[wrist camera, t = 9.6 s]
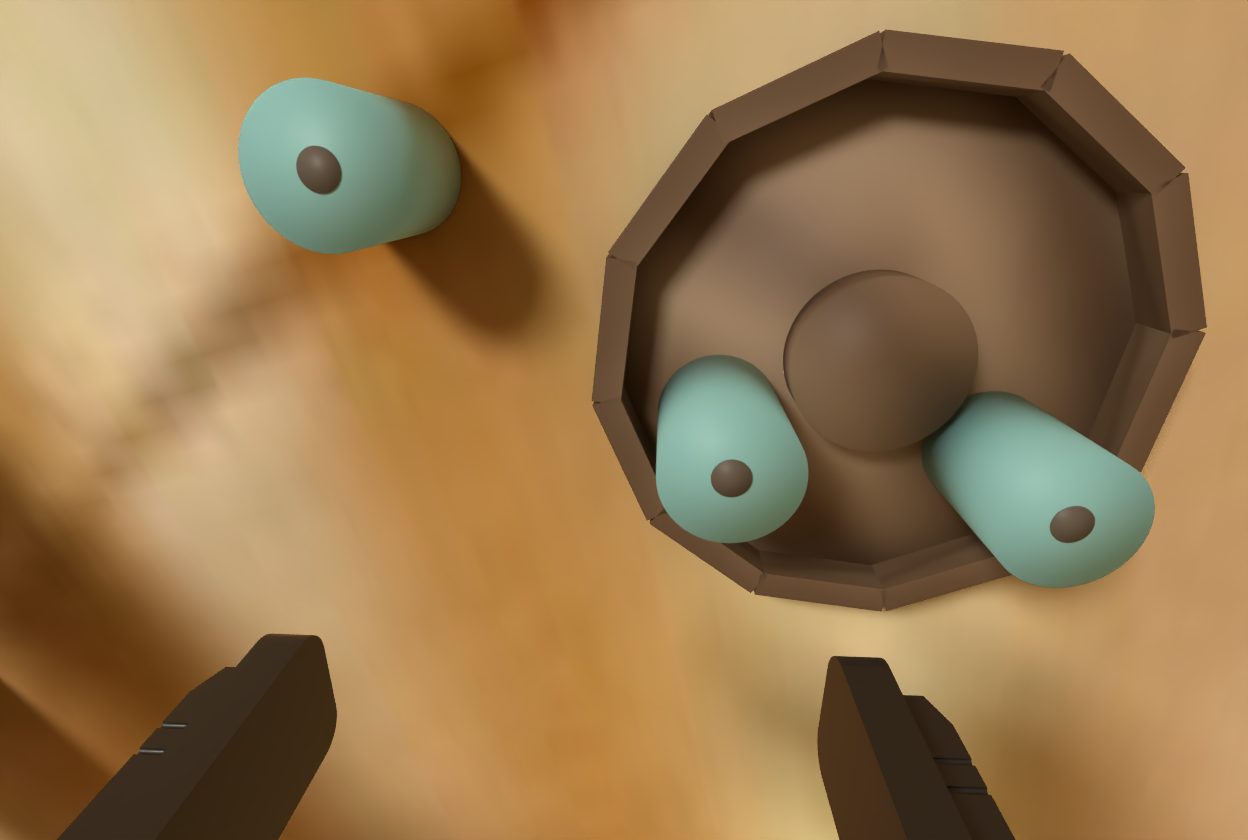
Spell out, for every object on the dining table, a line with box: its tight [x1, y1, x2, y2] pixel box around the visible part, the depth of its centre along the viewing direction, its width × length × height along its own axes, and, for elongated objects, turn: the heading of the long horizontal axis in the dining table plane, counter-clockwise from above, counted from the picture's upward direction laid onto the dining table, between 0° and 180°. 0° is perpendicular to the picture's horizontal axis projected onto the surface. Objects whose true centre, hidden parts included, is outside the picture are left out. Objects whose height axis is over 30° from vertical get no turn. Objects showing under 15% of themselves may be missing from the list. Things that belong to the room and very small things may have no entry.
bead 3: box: [921, 391, 1155, 588], centre depth 21 cm, size 4×4×6 cm
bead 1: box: [238, 78, 461, 254], centre depth 20 cm, size 4×4×6 cm
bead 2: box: [656, 355, 808, 543], centre depth 21 cm, size 4×4×6 cm
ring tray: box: [592, 30, 1207, 611], centre depth 22 cm, size 19×19×3 cm
